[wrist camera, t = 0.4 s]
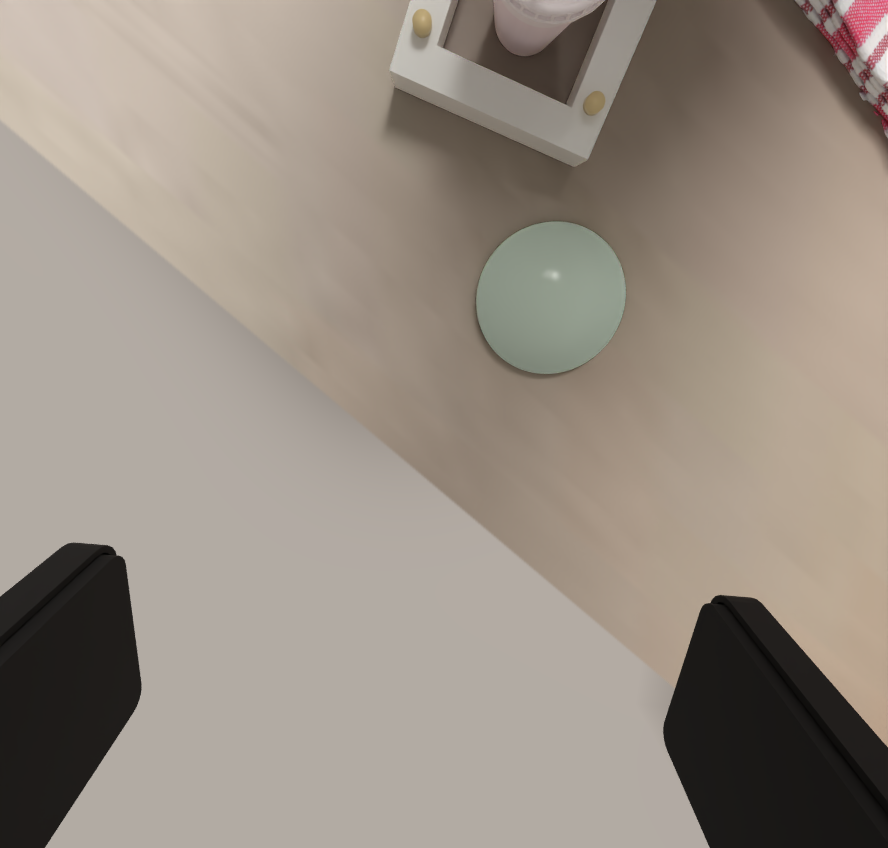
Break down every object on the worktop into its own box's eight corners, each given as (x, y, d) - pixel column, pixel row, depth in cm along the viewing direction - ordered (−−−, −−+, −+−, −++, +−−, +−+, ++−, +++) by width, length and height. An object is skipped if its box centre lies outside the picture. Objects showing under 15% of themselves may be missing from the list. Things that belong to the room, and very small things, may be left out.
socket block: (469, -159, 27) (474, -223, 23) (669, -56, 29) (703, -101, 25) (394, 87, 31) (387, 65, 27) (574, 167, 32) (591, 157, 29)
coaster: (511, 196, 33) (512, 195, 32) (649, 256, 34) (653, 256, 34) (454, 342, 36) (454, 343, 36) (582, 391, 37) (584, 394, 37)
